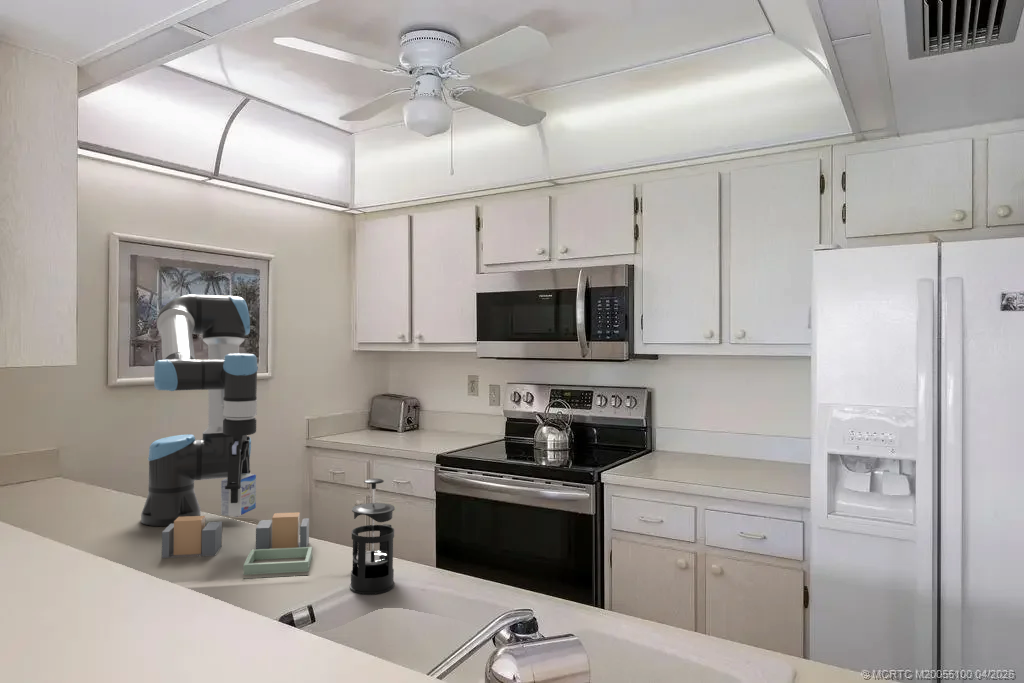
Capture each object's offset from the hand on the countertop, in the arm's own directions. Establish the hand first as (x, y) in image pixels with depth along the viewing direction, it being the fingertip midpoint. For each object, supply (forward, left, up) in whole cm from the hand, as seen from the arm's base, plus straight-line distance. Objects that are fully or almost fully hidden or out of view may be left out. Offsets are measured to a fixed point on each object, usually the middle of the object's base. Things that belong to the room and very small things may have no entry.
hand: (238, 510), depth 165 cm
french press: (+26, +32, -11) cm, 43 cm away
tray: (+13, +11, -11) cm, 20 cm away
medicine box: (0, 0, -1) cm, 1 cm away
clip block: (0, 0, -11) cm, 11 cm away
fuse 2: (0, +11, -10) cm, 15 cm away
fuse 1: (0, -11, -10) cm, 14 cm away
